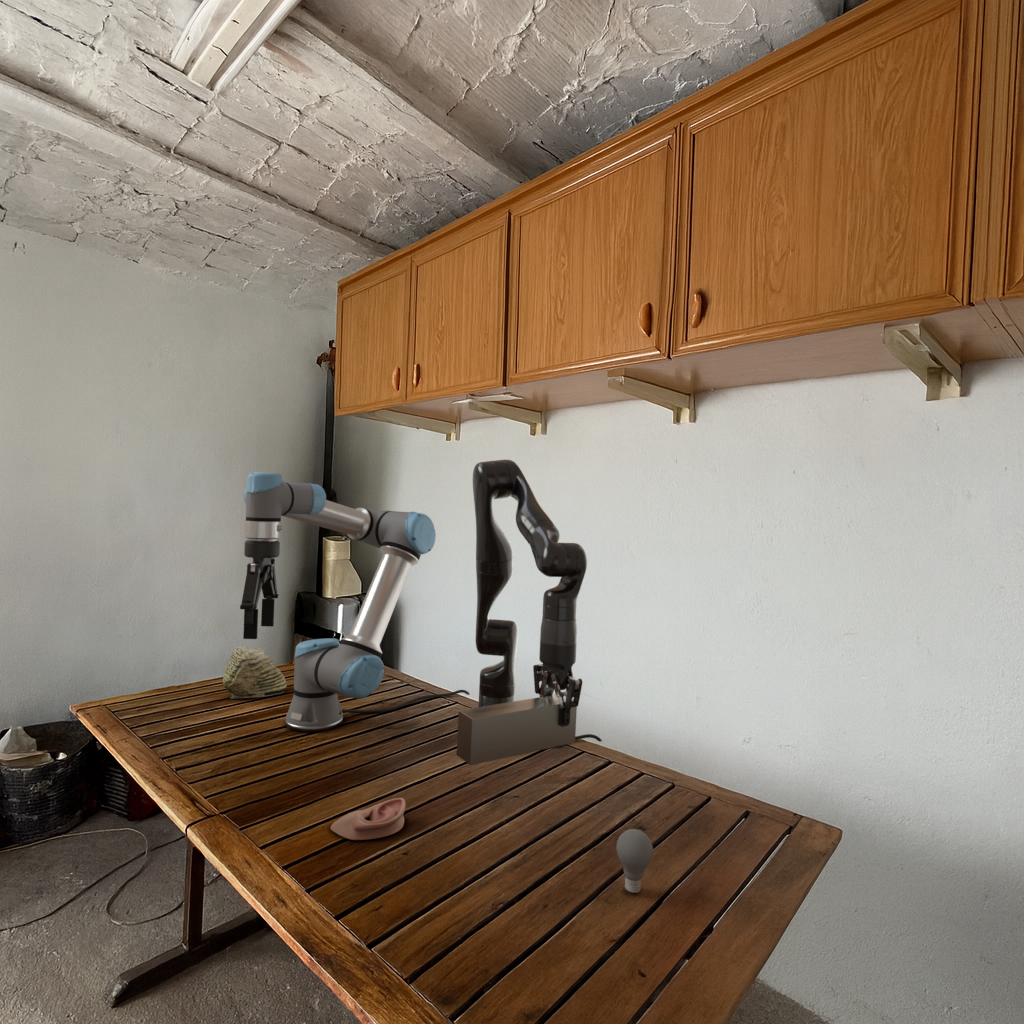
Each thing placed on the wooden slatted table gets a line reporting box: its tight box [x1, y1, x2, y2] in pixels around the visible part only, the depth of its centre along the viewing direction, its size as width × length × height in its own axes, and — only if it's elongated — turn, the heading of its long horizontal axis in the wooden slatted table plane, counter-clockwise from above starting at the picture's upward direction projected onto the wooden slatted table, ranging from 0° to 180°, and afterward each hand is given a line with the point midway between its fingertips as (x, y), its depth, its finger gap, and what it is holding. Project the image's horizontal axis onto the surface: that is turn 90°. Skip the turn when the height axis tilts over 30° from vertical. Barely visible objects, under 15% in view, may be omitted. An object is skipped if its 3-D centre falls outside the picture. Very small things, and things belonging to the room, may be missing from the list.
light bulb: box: [615, 828, 654, 894], centre depth 106 cm, size 6×6×10 cm
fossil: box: [222, 646, 288, 699], centre depth 198 cm, size 9×18×15 cm, turn 132°
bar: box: [456, 694, 578, 766], centre depth 126 cm, size 25×5×9 cm, turn 123°
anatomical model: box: [330, 797, 407, 841], centre depth 123 cm, size 13×4×12 cm
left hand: (259, 632), depth 145 cm, fingers open, 13 cm apart
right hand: (554, 720), depth 130 cm, fingers closed on bar, 5 cm apart
